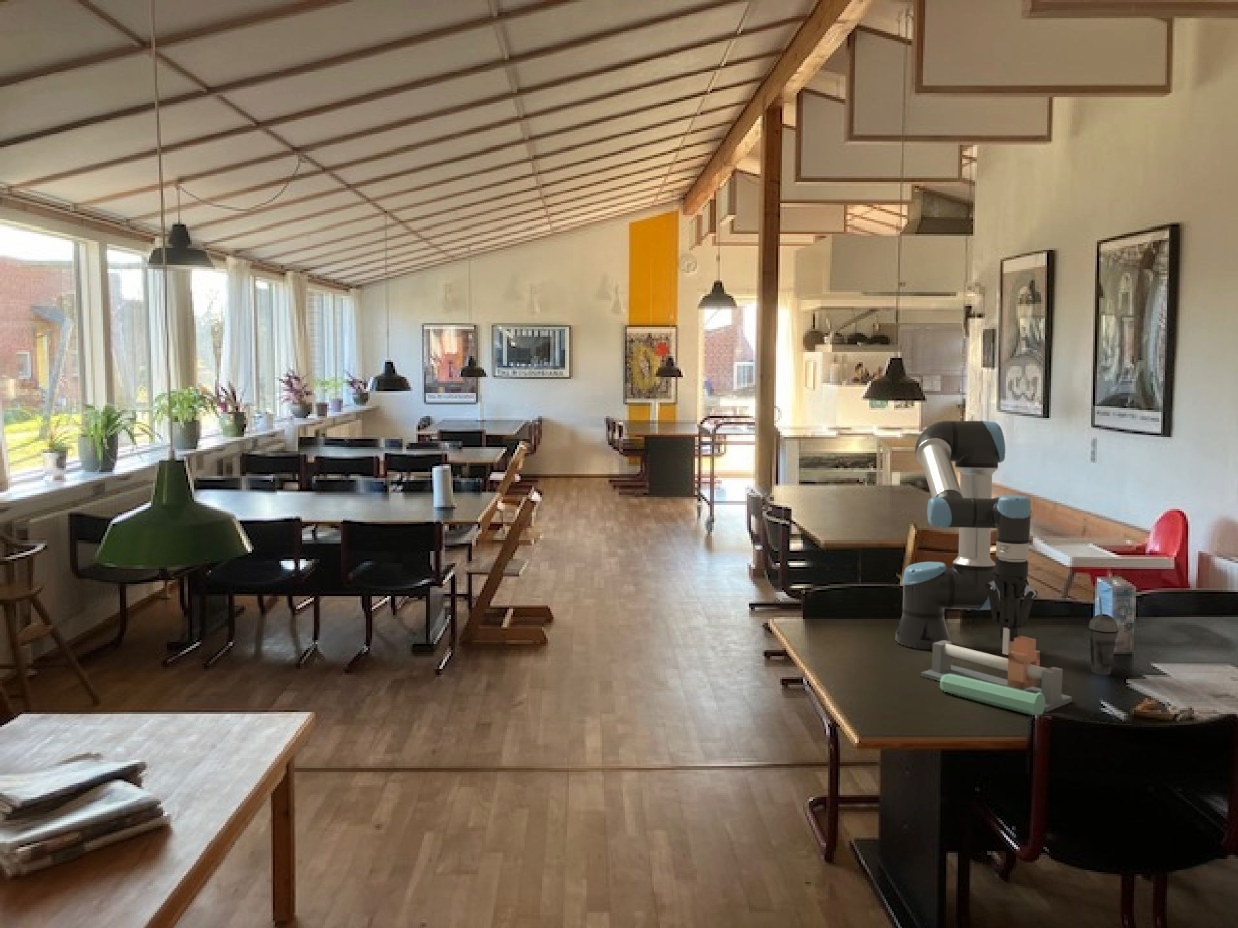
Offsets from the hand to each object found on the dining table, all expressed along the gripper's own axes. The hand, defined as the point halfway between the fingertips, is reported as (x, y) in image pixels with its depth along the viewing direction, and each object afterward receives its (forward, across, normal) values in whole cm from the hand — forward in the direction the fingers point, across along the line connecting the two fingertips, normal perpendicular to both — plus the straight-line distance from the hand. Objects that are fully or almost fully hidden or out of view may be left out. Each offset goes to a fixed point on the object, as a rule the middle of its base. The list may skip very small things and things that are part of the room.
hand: (1007, 653), depth 249 cm
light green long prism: (+11, +1, -10) cm, 15 cm away
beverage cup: (+10, +6, +35) cm, 37 cm away
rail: (+10, -4, 0) cm, 11 cm away
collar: (+7, +4, 0) cm, 8 cm away
